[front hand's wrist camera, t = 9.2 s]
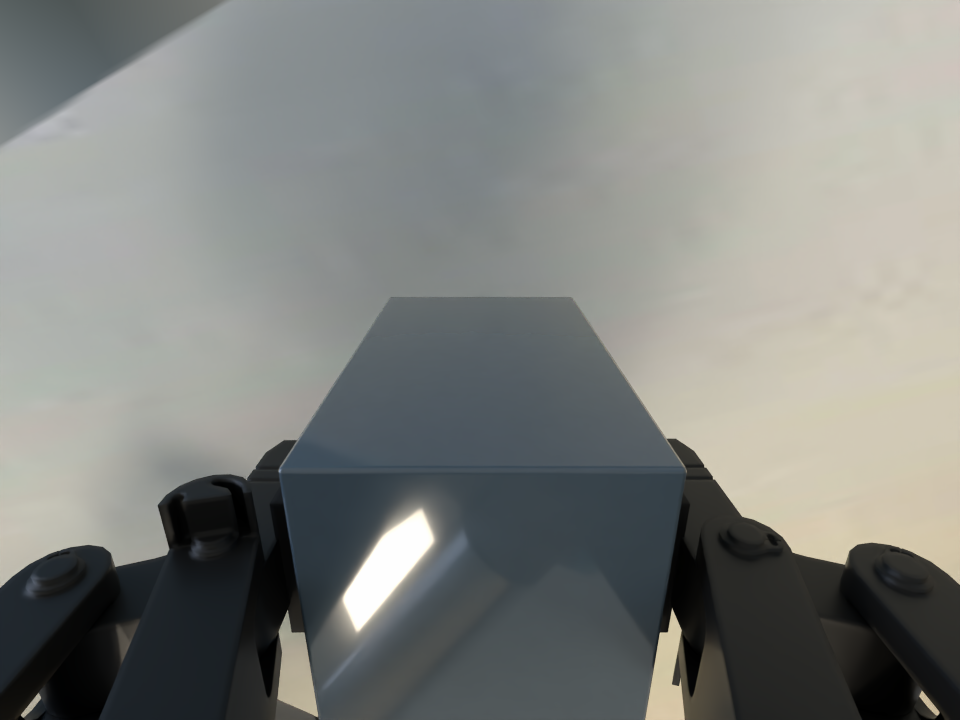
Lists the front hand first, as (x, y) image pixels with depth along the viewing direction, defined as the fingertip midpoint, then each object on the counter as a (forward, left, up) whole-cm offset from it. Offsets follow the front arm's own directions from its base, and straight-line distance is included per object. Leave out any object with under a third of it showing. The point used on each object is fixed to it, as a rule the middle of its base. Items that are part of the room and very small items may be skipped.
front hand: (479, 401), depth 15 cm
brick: (0, 0, -1) cm, 1 cm away
